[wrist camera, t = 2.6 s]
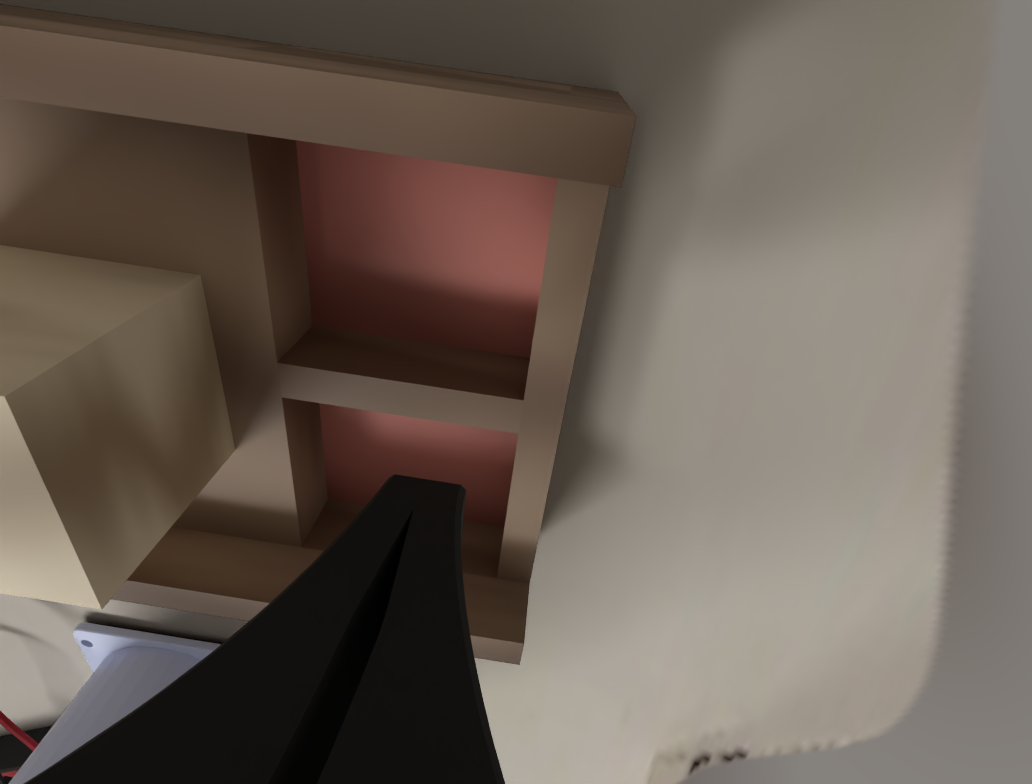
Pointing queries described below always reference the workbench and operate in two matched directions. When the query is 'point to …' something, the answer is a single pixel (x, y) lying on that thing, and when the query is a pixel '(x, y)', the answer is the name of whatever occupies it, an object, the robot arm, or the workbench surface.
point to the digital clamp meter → (16, 747)
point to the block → (100, 419)
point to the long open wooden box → (329, 277)
